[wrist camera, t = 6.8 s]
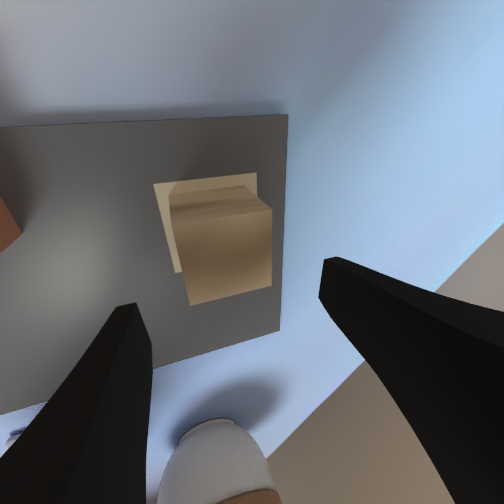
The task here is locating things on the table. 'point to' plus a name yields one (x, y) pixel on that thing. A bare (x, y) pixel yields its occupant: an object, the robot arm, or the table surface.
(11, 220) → the terracotta block
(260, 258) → the maple block
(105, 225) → the plate
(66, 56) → the table surface
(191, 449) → the lidded bowl
